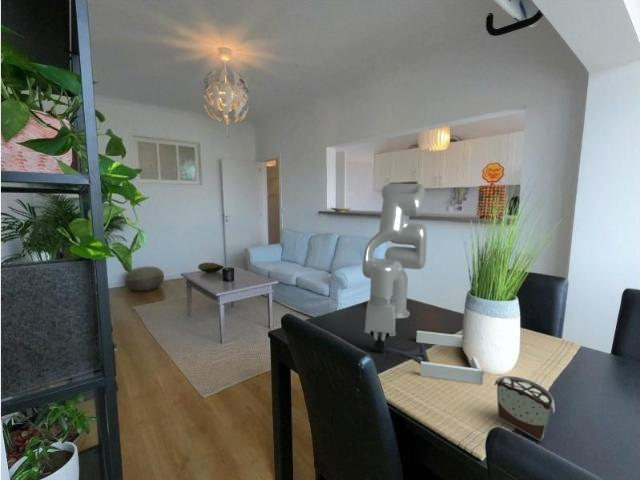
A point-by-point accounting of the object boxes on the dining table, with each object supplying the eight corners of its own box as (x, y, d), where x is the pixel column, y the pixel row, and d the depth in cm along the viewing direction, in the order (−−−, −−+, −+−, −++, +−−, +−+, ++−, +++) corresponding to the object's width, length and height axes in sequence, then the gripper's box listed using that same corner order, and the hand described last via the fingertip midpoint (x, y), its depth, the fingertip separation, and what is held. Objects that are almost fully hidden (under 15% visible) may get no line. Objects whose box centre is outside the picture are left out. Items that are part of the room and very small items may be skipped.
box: (416, 340, 116) (416, 330, 115) (465, 346, 111) (466, 336, 111) (420, 375, 93) (421, 363, 93) (482, 384, 89) (483, 371, 88)
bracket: (382, 344, 114) (382, 337, 113) (424, 348, 111) (424, 341, 111) (383, 365, 100) (383, 357, 99) (430, 370, 97) (431, 362, 97)
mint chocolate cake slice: (559, 433, 71) (564, 394, 69) (549, 446, 67) (554, 404, 66) (503, 404, 81) (506, 369, 79) (491, 413, 77) (495, 377, 76)
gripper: (403, 298, 106) (401, 347, 109) (360, 294, 110) (359, 342, 113) (403, 305, 99) (401, 358, 102) (357, 301, 103) (356, 351, 106)
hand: (379, 349), depth 107 cm, fingers closed
